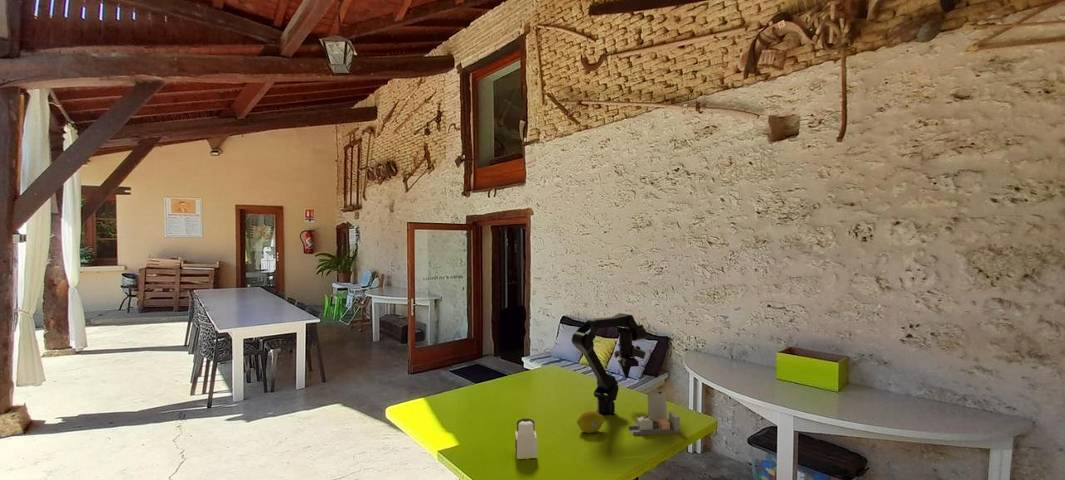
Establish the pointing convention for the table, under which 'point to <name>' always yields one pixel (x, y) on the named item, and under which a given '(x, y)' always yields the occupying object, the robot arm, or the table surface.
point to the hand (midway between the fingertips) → (626, 377)
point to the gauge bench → (673, 421)
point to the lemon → (590, 421)
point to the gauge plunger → (644, 423)
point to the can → (657, 405)
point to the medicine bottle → (525, 439)
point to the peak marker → (663, 424)
